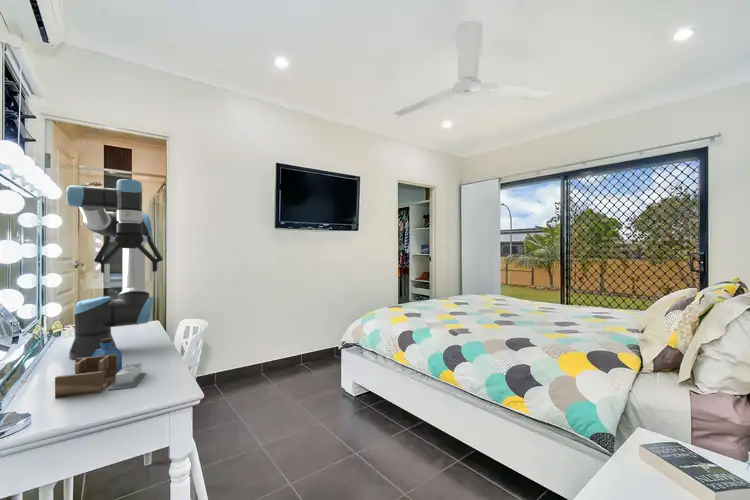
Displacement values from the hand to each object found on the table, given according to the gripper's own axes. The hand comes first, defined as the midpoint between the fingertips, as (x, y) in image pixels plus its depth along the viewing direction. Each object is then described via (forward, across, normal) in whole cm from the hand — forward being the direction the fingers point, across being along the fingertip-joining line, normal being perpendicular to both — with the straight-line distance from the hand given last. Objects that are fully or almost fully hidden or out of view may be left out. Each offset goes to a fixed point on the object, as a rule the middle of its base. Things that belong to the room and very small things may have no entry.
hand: (130, 281), depth 124 cm
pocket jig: (+32, -8, -14) cm, 36 cm away
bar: (+31, +3, -13) cm, 34 cm away
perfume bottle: (+32, -7, -1) cm, 33 cm away
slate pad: (+32, +3, -14) cm, 35 cm away
